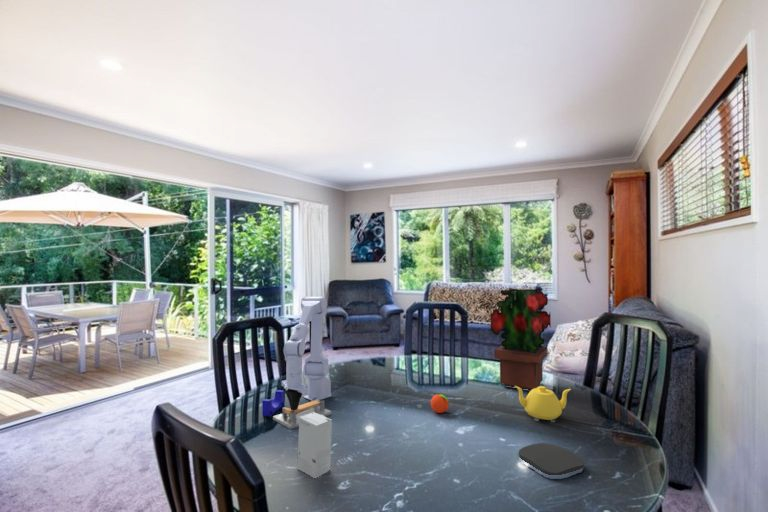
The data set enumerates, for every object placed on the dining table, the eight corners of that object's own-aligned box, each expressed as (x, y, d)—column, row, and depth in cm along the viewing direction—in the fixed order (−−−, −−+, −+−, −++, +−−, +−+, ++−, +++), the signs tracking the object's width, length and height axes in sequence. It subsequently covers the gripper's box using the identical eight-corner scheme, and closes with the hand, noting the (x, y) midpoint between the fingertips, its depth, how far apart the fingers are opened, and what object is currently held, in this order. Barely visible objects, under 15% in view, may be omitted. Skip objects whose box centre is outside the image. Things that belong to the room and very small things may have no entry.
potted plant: (551, 383, 184) (550, 289, 185) (542, 397, 166) (541, 292, 166) (504, 376, 196) (503, 287, 197) (491, 388, 177) (490, 290, 178)
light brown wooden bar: (317, 402, 154) (317, 397, 154) (322, 404, 151) (322, 400, 151) (284, 413, 143) (284, 408, 143) (289, 415, 140) (289, 411, 140)
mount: (312, 406, 157) (312, 394, 157) (331, 414, 149) (331, 402, 149) (272, 419, 144) (272, 407, 144) (290, 429, 136) (290, 416, 136)
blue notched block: (273, 404, 160) (273, 389, 160) (283, 405, 159) (283, 390, 159) (258, 415, 148) (258, 400, 148) (269, 416, 147) (269, 401, 147)
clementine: (454, 412, 149) (454, 394, 149) (444, 418, 144) (444, 399, 144) (437, 407, 155) (437, 389, 155) (427, 412, 150) (427, 394, 150)
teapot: (565, 410, 151) (565, 381, 151) (576, 427, 136) (576, 394, 136) (511, 407, 155) (511, 378, 155) (517, 422, 140) (516, 391, 140)
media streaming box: (551, 484, 102) (551, 472, 102) (512, 458, 116) (512, 448, 116) (590, 471, 108) (590, 461, 108) (549, 448, 122) (549, 439, 122)
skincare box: (296, 469, 110) (296, 417, 110) (313, 461, 114) (313, 410, 114) (316, 480, 104) (315, 425, 104) (332, 470, 109) (332, 417, 109)
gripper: (274, 371, 146) (274, 407, 146) (296, 379, 136) (296, 417, 136) (290, 367, 151) (290, 402, 151) (312, 374, 141) (312, 412, 141)
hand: (294, 409), depth 144 cm, fingers closed, pressing on light brown wooden bar
